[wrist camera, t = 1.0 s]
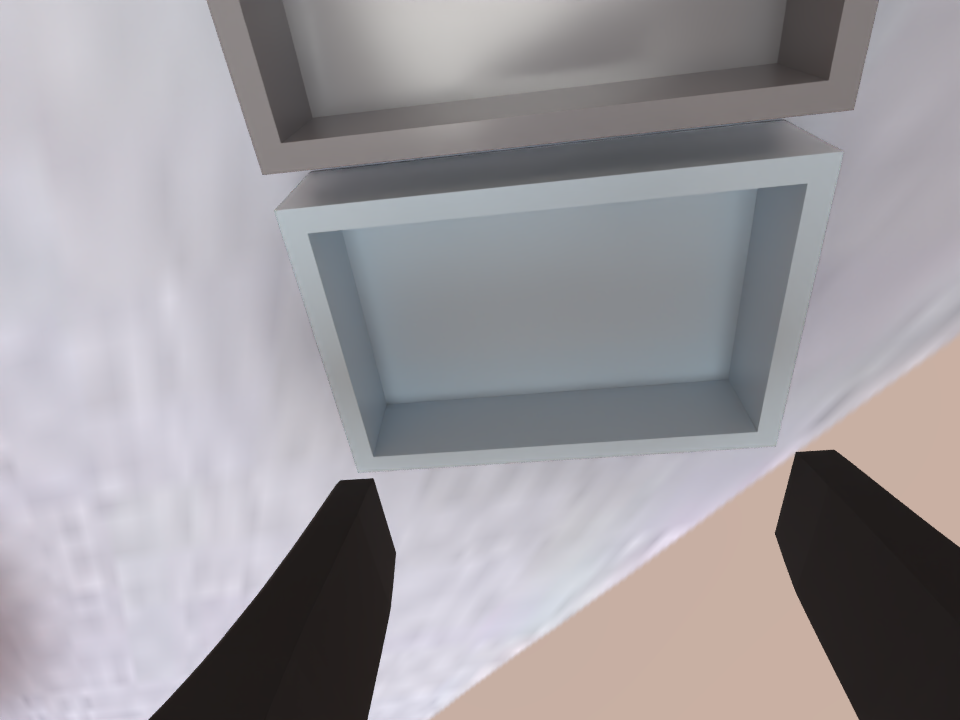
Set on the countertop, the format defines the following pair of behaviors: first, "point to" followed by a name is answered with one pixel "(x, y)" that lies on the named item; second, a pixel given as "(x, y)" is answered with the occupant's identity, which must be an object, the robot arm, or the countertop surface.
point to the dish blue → (564, 294)
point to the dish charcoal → (524, 71)
